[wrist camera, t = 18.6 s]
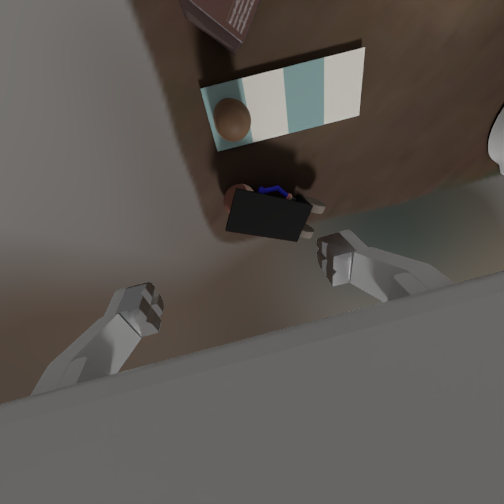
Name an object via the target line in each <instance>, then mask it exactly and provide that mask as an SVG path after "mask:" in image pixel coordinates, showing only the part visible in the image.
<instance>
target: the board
mask: <svg viewBox="0 0 504 504" xmlns="http://www.w3.org/2000/svg"><path fill="white" fill-rule="evenodd" d="M364 53H365V47H363V48H360V49H356V50H352V51H348V52H344V53H340V54H336V55H332V56H328V57H324V58H320V59H316V60H312V61H308V62H304V63H300V64H296V65H292V66H288V67H284V68H280V69H276V70H272V71H268V72H264V73H260V74H256V75H252V76H248V77H245V78H241V79H237V80H233V81H229V82H225V83H221V84H217V85H213V86H209V87H205V88H201V89H200V90H201V93H202V97H203V101H204V104H205V108H206V111H207V115H208V119H209V122H210V126H211V129H212V133H213V137H214V140H215V144H216V148H217V151H222V150H226V149H230V148H234V147H238V146H242V145H246V144H249V143H253V142H257V141H261V140H265V139H269V138H273V137H277V136H281V135H285V134H289V133H293V132H296V131H300V130H304V129H308V128H312V127H316V126H320V125H324V124H328V123H332V122H336V121H340V120H343V119H347V118H351V117H355V116H359V111H360V100H361V88H362V77H363V65H364ZM224 98H232V99H236V100H239V101H241V102H242V103H243V104H245V106H246V107H247V108H248V110H249V113H250V116H251V126H250V130H249V132H248V133H247V135H246V136H245V137H244V138H243V139H241V140H239V141H236V142H230V141H227V140H225V139H223V138H222V137H221V136H220V135H219V134H218V132H217V130H216V128H215V124H214V119H213V112H214V108H215V106H216V104H217V103H218V102H219V101H220V100H222V99H224Z"/></svg>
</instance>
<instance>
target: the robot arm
mask: <svg viewBox="0 0 504 504" xmlns="http://www.w3.org/2000/svg"><path fill="white" fill-rule="evenodd" d="M488 152H489V155H490V157H491V159H492V160H493V161H495V162H496V163H498V164H499V167H500V172H501V174H502V175H504V107H503V109H502V111H501V112H500V114H499V116H498V117H497V119H496V121H495V123H494V125H493V128H492V130H491V133H490V137H489V141H488ZM316 244H317V247H318V248H319V250H318V251H317V260H318V264H319V266H320V268H321V269H322V271H324V272H326V277H327V279H328V280H329V282H330V283H331V285H332V286H336V285H341V284H345V283H349V282H350V283H351V284H353V285H355V286H356V287H358V288H360V289H362V290H363V291H365V292H367V293H369V294H371V295H372V296H374V297H376V298H378V299H379V300H381V301H383V303H379V304H376V305H372V306H368V307H364V308H361V309H357V310H353V311H350V312H345V313H342V314H338V315H334V316H330V317H327V318H323V319H319V320H315V321H311V322H308V323H304V324H300V325H296V326H293V327H289V328H286V329H281V330H278V331H274V332H270V333H266V334H262V335H259V336H255V337H251V338H248V339H244V340H240V341H236V342H232V343H229V344H225V345H221V346H217V347H214V348H210V349H206V350H202V351H198V352H195V353H191V354H187V355H184V356H180V357H176V358H172V359H168V360H165V361H161V362H157V363H153V364H150V365H146V366H142V367H138V368H135V369H131V370H127V371H123V372H120V373H117V372H118V370H119V369H120V368H121V366H122V365H123V364H124V362H125V361H126V359H127V358H128V356H129V355H130V354H131V352H132V351H133V349H134V348H135V346H136V345H137V344H138V342H139V341H140V339H141V337H144V336H148V335H151V334H154V333H157V332H159V329H160V324H161V319H160V318H159V316H160V315H161V314H162V313H163V309H164V304H163V300H162V297H161V296H160V294H159V293H157V292H154V289H155V287H154V285H153V284H152V283H150V282H147V283H143V284H138V285H134V286H130V287H126V288H122V289H119V290H117V291H116V292H115V294H114V296H113V298H112V300H111V302H110V304H109V306H108V308H107V310H106V313H105V315H104V317H103V318H100V319H99V320H98V321H96V322H95V323H94V324H93V325H92V326H91V327H90V328H89V329H88V330H87V331H86V332H84V333H83V334H82V335H81V336H80V337H79V338H78V339H77V340H76V341H74V342H73V343H72V344H71V345H70V346H69V347H68V348H67V349H66V350H65V351H64V352H62V353H61V354H60V355H59V356H58V357H57V358H56V359H55V360H54V361H52V362H51V363H50V364H49V365H48V367H47V368H46V370H45V372H44V374H43V375H42V377H41V379H40V380H39V382H38V384H37V385H36V387H35V389H34V390H33V392H32V394H31V396H29V397H25V398H21V399H18V400H14V401H11V402H7V403H3V404H0V504H504V271H500V272H496V273H493V274H489V275H485V276H481V277H478V278H474V279H470V280H466V281H462V282H459V283H453V282H452V281H451V280H449V279H448V278H447V277H446V276H444V275H443V274H442V273H440V272H439V271H438V270H436V269H435V268H434V267H433V266H431V265H429V264H426V263H423V262H419V261H416V260H413V259H409V258H406V257H403V256H400V255H396V254H393V253H390V252H386V251H383V250H380V249H376V248H373V247H370V248H368V247H367V246H366V245H365V244H364V243H363V242H362V241H361V240H360V239H359V238H358V237H357V236H355V235H354V234H353V233H352V232H351V231H350V230H345V231H341V232H338V233H335V234H331V235H327V236H324V237H320V238H317V243H316Z"/></svg>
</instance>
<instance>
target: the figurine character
mask: <svg viewBox="0 0 504 504" xmlns="http://www.w3.org/2000/svg"><path fill="white" fill-rule="evenodd" d="M272 191H278V192H280V193H281V194H282V195H283V196H285V198H281V197H276V196H272V195H267V194H265V193H268V192H272ZM224 207H225V209H226V211H227V212H228V213H229V217H228V221H227V225H226V231H228V232H234V233H241V234H248V235H254V236H261V237H268V238H275V239H281V240H288V241H295V242H297V241H298V239H299V237H302V238H306V239H307V238H308V239H309V238H311V236H312V234H313V232H314V229H313V228H312V227H310V226H308V225H306V224H305V223H306V221H307V219H308V216H309V214H310V212H313V213H318V214H322V213H323V211H324V209H325V207H326V205H325V204H324V203H322V202H321V201H318V200H316V199H313V198H309V197H303V196H302V195H301V194H297V197H296V198H294V197H292V194H290V193H287V192H286V191H284V190H283V189H282V188H281V187H280V186H273V187H269V188H264V187H260V188H259V189H258V192H254V191H253V189H252V188H251V187H249V186H247V185H245V184H235V185H233V186H231V187H230V188H229V189H228V190H227V191H226V193H225V196H224Z"/></svg>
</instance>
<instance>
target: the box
mask: <svg viewBox="0 0 504 504" xmlns="http://www.w3.org/2000/svg"><path fill="white" fill-rule="evenodd" d="M260 1H261V0H180V2H181V6H182V9H183V13H184V16H185V18H186V19H188V20H189V21H190V22H191V23H193V24H194V25H195V26H197V27H198V28H199V29H201V30H202V31H203V32H205V33H206V34H207V35H209V36H210V37H211V38H212V39H214V40H215V41H216V42H218V43H219V44H220V45H222V46H223V47H224V48H226V49H227V50H228V51H230V52H231V53H232V54H233V55H235V54H236V52H237V51H238V49H239V47H240V46H241V44H242V43H243V42H244V40H245V37H246V35H247V33H248V30H249V28H250V25H251V23H252V21H253V18H254V16H255V13H256V11H257V8H258V6H259V3H260Z"/></svg>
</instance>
